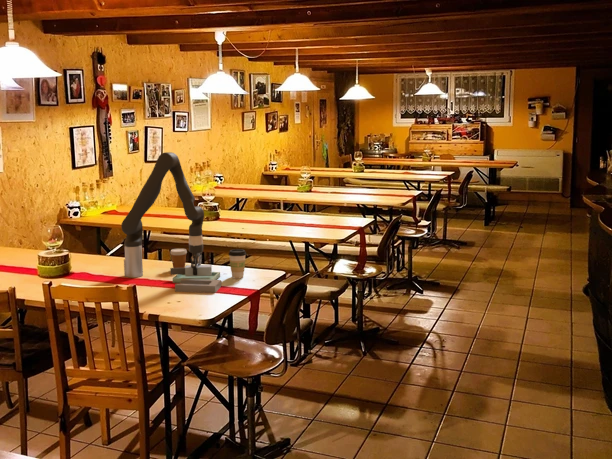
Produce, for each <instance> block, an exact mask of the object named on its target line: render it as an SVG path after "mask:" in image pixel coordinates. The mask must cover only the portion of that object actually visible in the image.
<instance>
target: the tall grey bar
mask: <svg viewBox="0 0 612 459" xmlns="http://www.w3.org/2000/svg"><path fill="white" fill-rule="evenodd" d="M194 266H195V265H194ZM212 269H213V266H212V264H201V265H197V275H193V268H191V264H185V268H173V267H170V270H169V271H170V275H177V274H185V277H189V276H211V275H212V272H213V270H212Z"/></svg>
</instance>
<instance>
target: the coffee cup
mask: <svg viewBox="0 0 612 459" xmlns="http://www.w3.org/2000/svg"><path fill="white" fill-rule="evenodd" d="M228 255H229V256H228V258H229V264H230V273H231V278H232V279H236V280H237V279H243V278H244V272H245V267H246V255H247V251H246V250H245V249H243V248H242V249H240V248H235V249H230V250H229V252H228Z"/></svg>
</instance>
